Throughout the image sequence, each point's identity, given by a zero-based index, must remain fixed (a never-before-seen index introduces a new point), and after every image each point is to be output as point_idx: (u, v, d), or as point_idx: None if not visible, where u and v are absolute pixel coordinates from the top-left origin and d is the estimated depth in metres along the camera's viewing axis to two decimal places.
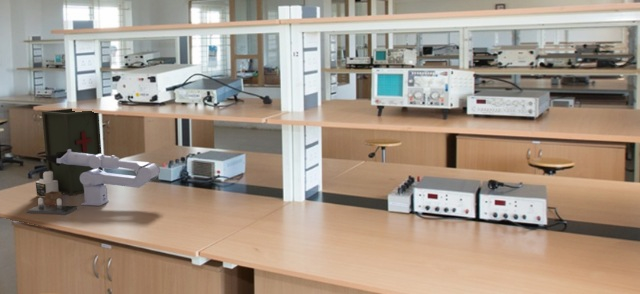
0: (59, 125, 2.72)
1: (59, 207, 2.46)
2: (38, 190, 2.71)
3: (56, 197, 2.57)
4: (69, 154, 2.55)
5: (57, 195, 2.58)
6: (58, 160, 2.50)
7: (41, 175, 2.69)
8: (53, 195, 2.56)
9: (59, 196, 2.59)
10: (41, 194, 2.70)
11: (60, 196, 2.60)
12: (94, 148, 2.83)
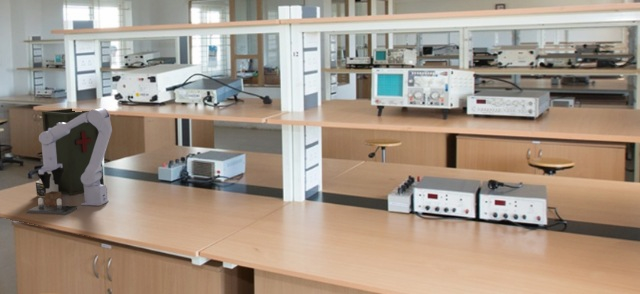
0: None
1: (59, 207, 2.46)
2: (38, 190, 2.71)
3: (56, 197, 2.57)
4: (43, 165, 2.55)
5: (57, 195, 2.58)
6: (40, 172, 2.50)
7: None
8: (53, 195, 2.56)
9: (59, 196, 2.59)
10: (41, 194, 2.70)
11: (60, 196, 2.60)
12: None
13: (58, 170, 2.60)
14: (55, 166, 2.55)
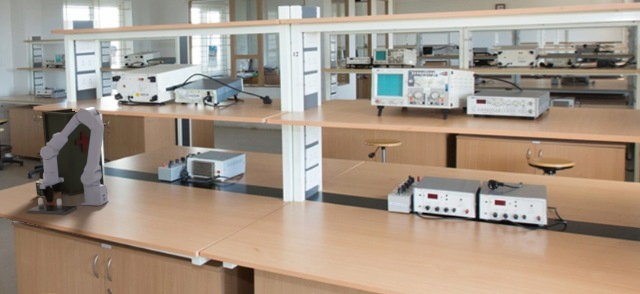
0: (59, 125, 2.72)
1: (59, 207, 2.46)
2: (38, 190, 2.71)
3: (56, 197, 2.57)
4: None
5: (57, 195, 2.58)
6: (41, 186, 2.51)
7: (41, 175, 2.69)
8: (53, 195, 2.56)
9: (59, 196, 2.59)
10: (41, 194, 2.70)
11: (60, 196, 2.60)
12: None
13: (58, 185, 2.60)
14: (56, 180, 2.57)
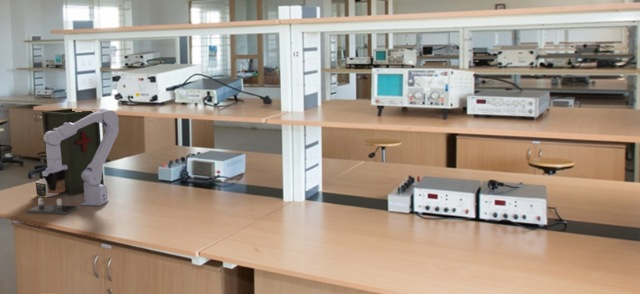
0: (59, 125, 2.72)
1: (59, 207, 2.46)
2: (38, 190, 2.71)
3: (59, 185, 2.46)
4: None
5: (60, 183, 2.47)
6: (43, 173, 2.40)
7: (41, 175, 2.69)
8: (56, 183, 2.45)
9: (62, 184, 2.48)
10: (41, 194, 2.70)
11: (63, 184, 2.49)
12: (94, 148, 2.83)
13: (61, 172, 2.50)
14: (59, 168, 2.46)
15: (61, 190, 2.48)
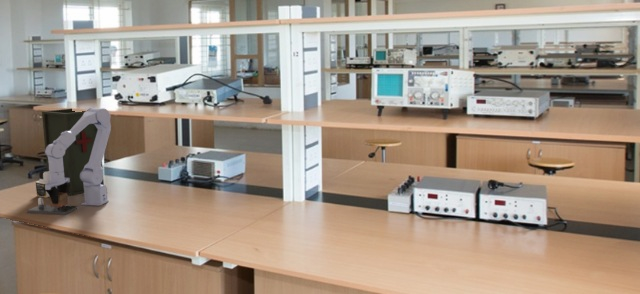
0: (59, 125, 2.72)
1: (59, 207, 2.46)
2: (38, 190, 2.71)
3: (62, 198, 2.44)
4: (50, 180, 2.43)
5: (63, 196, 2.45)
6: (46, 187, 2.38)
7: (41, 175, 2.69)
8: (59, 196, 2.43)
9: (65, 197, 2.46)
10: (41, 194, 2.70)
11: (66, 197, 2.47)
12: None
13: (64, 185, 2.48)
14: (62, 181, 2.44)
15: (64, 203, 2.46)
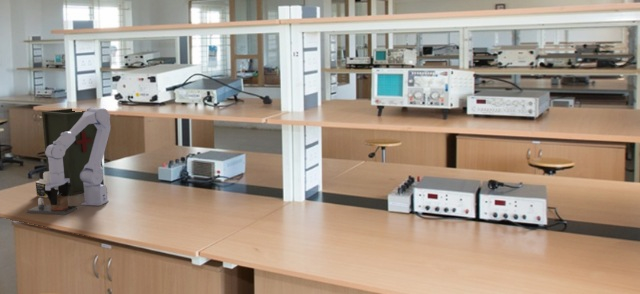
0: (59, 125, 2.72)
1: None
2: (38, 190, 2.71)
3: (62, 202, 2.45)
4: (50, 180, 2.43)
5: (63, 200, 2.45)
6: (46, 188, 2.38)
7: (41, 175, 2.69)
8: (59, 200, 2.43)
9: (65, 201, 2.47)
10: (41, 194, 2.70)
11: (66, 201, 2.48)
12: None
13: (65, 185, 2.49)
14: (62, 181, 2.44)
15: (64, 207, 2.46)
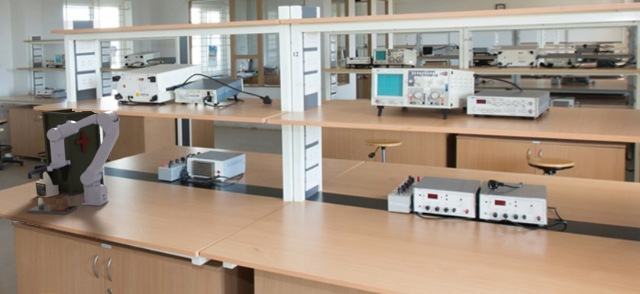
0: None
1: None
2: (38, 190, 2.71)
3: (62, 202, 2.45)
4: None
5: (63, 200, 2.45)
6: (48, 168, 2.50)
7: (41, 175, 2.69)
8: (59, 200, 2.43)
9: (65, 201, 2.47)
10: (41, 194, 2.70)
11: (66, 201, 2.48)
12: (94, 148, 2.83)
13: (66, 167, 2.61)
14: (63, 163, 2.56)
15: (64, 207, 2.46)
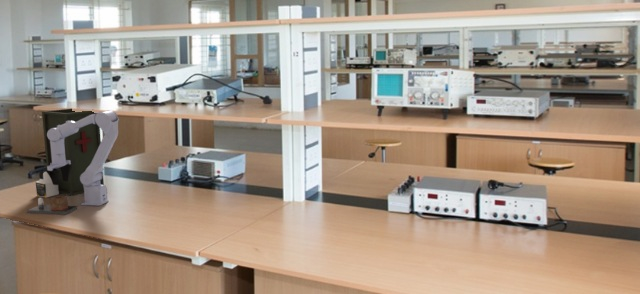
0: None
1: None
2: (38, 190, 2.71)
3: (62, 202, 2.45)
4: (52, 161, 2.56)
5: (63, 200, 2.45)
6: (48, 168, 2.51)
7: (41, 175, 2.69)
8: (59, 200, 2.43)
9: (65, 201, 2.47)
10: (41, 194, 2.70)
11: (66, 201, 2.48)
12: (94, 148, 2.83)
13: (66, 166, 2.62)
14: (64, 162, 2.57)
15: (64, 207, 2.46)
